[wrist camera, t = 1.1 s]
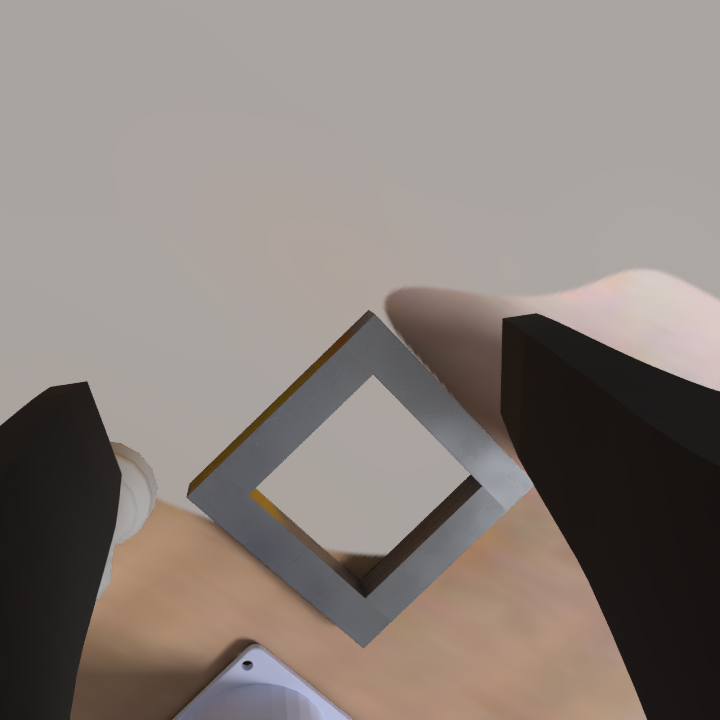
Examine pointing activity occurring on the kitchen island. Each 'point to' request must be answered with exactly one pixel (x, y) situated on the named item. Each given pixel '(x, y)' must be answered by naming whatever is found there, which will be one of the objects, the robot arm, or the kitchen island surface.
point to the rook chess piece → (130, 501)
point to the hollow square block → (299, 420)
